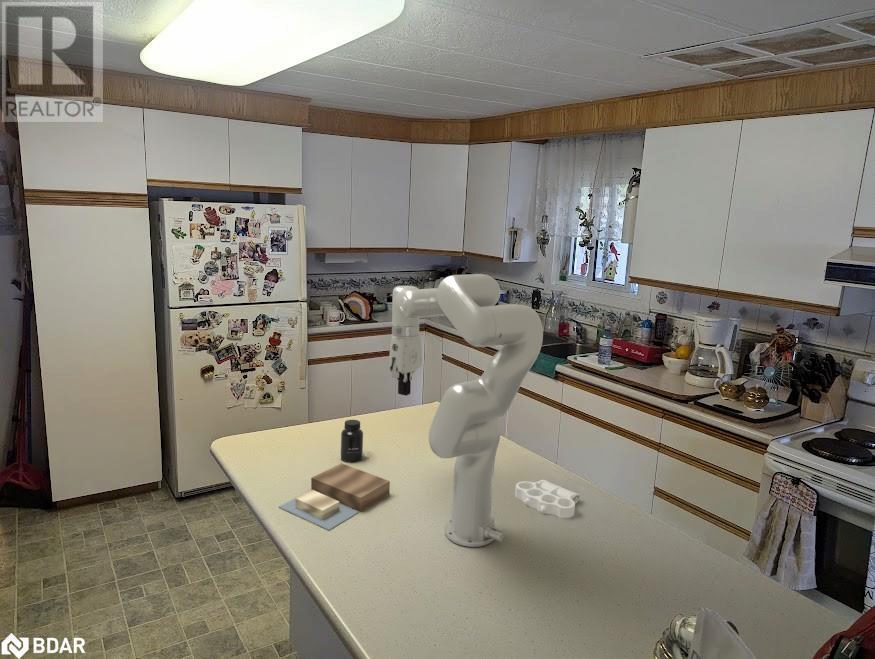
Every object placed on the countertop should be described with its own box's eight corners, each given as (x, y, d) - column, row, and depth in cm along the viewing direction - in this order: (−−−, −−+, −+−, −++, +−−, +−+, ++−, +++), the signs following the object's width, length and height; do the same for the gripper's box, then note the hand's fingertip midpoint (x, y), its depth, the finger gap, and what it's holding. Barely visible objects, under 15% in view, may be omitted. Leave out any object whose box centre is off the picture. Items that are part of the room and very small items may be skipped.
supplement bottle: (351, 464, 181) (352, 427, 179) (336, 458, 185) (336, 422, 183) (367, 457, 187) (367, 421, 184) (351, 451, 191) (352, 416, 188)
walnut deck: (389, 494, 164) (389, 481, 163) (360, 511, 154) (360, 497, 153) (341, 475, 174) (341, 463, 173) (311, 491, 164) (311, 477, 163)
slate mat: (359, 512, 154) (359, 511, 154) (328, 530, 145) (328, 529, 145) (310, 491, 164) (310, 490, 164) (278, 507, 155) (278, 506, 155)
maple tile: (322, 510, 149) (322, 519, 149) (339, 501, 153) (339, 510, 154) (295, 498, 154) (295, 506, 155) (312, 489, 159) (312, 498, 160)
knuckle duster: (589, 506, 163) (560, 525, 152) (535, 483, 175) (504, 499, 164) (590, 495, 162) (561, 513, 152) (536, 473, 174) (505, 488, 164)
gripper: (400, 337, 156) (399, 403, 160) (431, 328, 169) (429, 390, 172) (378, 333, 160) (377, 398, 164) (409, 325, 172) (408, 385, 176)
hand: (404, 393), depth 168 cm, fingers closed
